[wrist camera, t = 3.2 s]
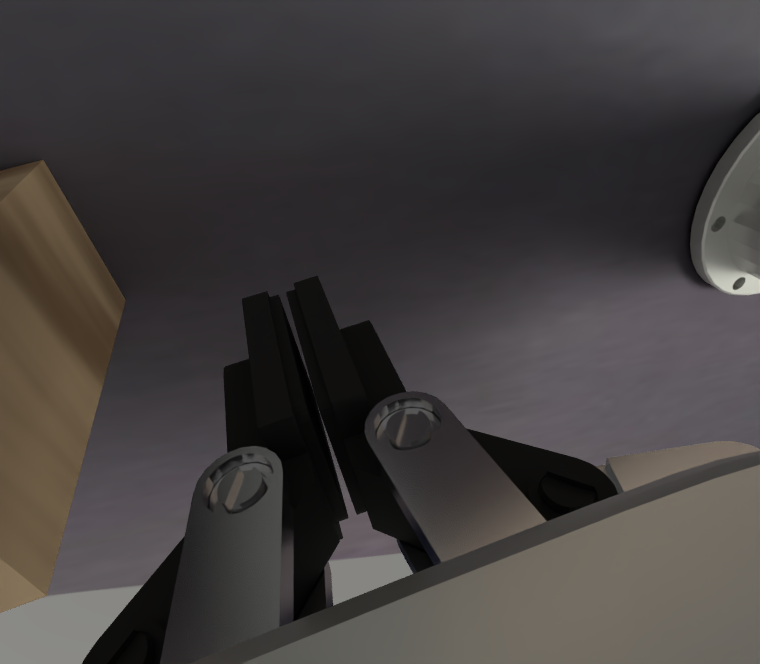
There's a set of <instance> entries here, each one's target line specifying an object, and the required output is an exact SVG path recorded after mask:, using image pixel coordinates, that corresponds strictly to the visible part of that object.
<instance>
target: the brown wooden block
mask: <svg viewBox="0 0 760 664" xmlns="http://www.w3.org/2000/svg"><path fill="white" fill-rule="evenodd" d="M125 301H126V300H125V298H124V296H123V295H122V293H121V291H120V290H119V288H118V286H117V284H116V283H115V281H114V279H113V278H112V276H111V274H110V273H109V271H108V269H107V267H106V266H105V264H104V262H103V261H102V259H101V257H100V255H99V254H98V252H97V250H96V249H95V247H94V245H93V244H92V242H91V240H90V238H89V237H88V235H87V233H86V232H85V230H84V228H83V227H82V225H81V223H80V221H79V220H78V218H77V216H76V215H75V213H74V211H73V209H72V208H71V206H70V204H69V203H68V201H67V199H66V198H65V196H64V194H63V192H62V191H61V189H60V187H59V186H58V184H57V182H56V181H55V179H54V177H53V175H52V174H51V172H50V170H49V169H48V167H47V165H46V163H45V162H44V160H40V161H36V162H32V163H28V164H24V165H20V166H17V167H13V168H9V169H5V170H1V171H0V613H1V612H4V611H7V610H9V609H12V608H15V607H17V606H20V605H23V604H26V603H29V602H31V601H34V600H37V599H39V598H42V597H45V596H47V593H48V589H49V586H50V582H51V578H52V574H53V571H54V567H55V563H56V559H57V556H58V552H59V548H60V545H61V541H62V537H63V533H64V530H65V526H66V522H67V518H68V515H69V511H70V507H71V503H72V500H73V496H74V492H75V488H76V485H77V481H78V477H79V473H80V470H81V466H82V462H83V459H84V455H85V451H86V447H87V444H88V440H89V436H90V432H91V429H92V425H93V421H94V417H95V414H96V410H97V406H98V402H99V399H100V395H101V391H102V387H103V384H104V380H105V376H106V372H107V369H108V365H109V361H110V358H111V354H112V350H113V346H114V343H115V339H116V335H117V331H118V328H119V324H120V320H121V316H122V313H123V309H124V305H125Z"/></svg>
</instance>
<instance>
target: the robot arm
mask: <svg viewBox="0 0 760 664" xmlns="http://www.w3.org/2000/svg"><path fill="white" fill-rule="evenodd" d="M690 249H691V257H692V262H693V264H694V267H695V269H696V271H697V273H698V274H699V275H700V277H701V278H702V279H703V280H704V281H705V282H707V283H708V284H710V285H712V286H713V287H715V288H717V289H718V290H720V291H722V292H725V293H727V294H730V295H745V296H746V295H752V294H757V293H760V113H759V114H757V115H756V116H755V117H754V118H753V119H752V120H751V121H750V122H749V124H748V125H747V126H746V127H745V128H744V129H743V130H742V131H741V133H740V134H739V135H738V136H737V137H736V138H735V139H734V141H733V142H732V143H731V145H730V146H729V148H728V149H727V150H726V152H725V153H724V155H723V156H722V157H721V159H720V160H719V162H718V163H717V165H716V167H715V169H714V171H713V172H712V174H711V176H710V178H709V180H708V181H707V183H706V185H705V188H704V190H703V192H702V195H701V197H700V200H699V202H698V204H697V207H696V211H695V215H694V219H693V223H692V228H691V239H690ZM294 286H295V290H292V291H289V292H286V294H287V297H288V301H289V305H290V308H291V312H292V315H293V319H294V322H295V326H296V330H297V333H298V337H299V340H300V344H301V348H302V351H303V355H304V358H305V362H306V366H307V369H308V373H309V376H310V380H311V383H310V380H309V378H308V375H307V372H306V369H305V366H304V364H303V361H302V358H301V355H300V352H299V350H298V347H297V344H296V341H295V339H294V336H293V333H292V330H291V327H290V325H289V322H288V319H287V316H286V313H285V311H284V308H283V305H282V302H281V300H280V297H279V295H276V296H272V297H269V295H268V292H267V291H266V292H263V293H260V294H256V295H253V296H250V297H247V298H243V299H242V304H243V312H244V320H245V328H246V336H247V344H248V352H249V359H247V360H244V361H241V362H238V363H235V364H231V365H228V366H225V367H224V392H225V412H226V432H227V451H228V453H226V454H225V455H223V456H221V457H220V458H218V459H217V460H215V461H214V462H213V463H212V464H211V465H210V466H209V467H208V468H207V469H206V470H205V471H204V473H203V474H202V476H201V477H200V478H199V480H198V482H197V484H196V487H195V490H194V493H193V497H192V503H191V508H190V513H189V518H188V523H187V528H186V533H185V536H184V538H183V539H182V540H181V541H180V542H179V544H178V545H177V546H176V547H175V548H174V550H173V551H172V552H171V553H170V554H169V556H168V557H167V558H166V559H165V560H164V562H163V563H162V564H161V565H160V566H159V568H158V569H157V570H156V571H155V572H154V574H153V575H152V576H151V577H150V578H149V580H148V581H147V582H146V583H145V584H144V585H143V587H142V588H141V589H140V590H139V592H138V593H137V594H136V595H135V596H134V598H133V599H132V600H131V601H130V602H129V603H128V605H127V606H126V607H125V608H124V609H123V611H122V612H121V613H120V614H119V615H118V617H117V618H116V619H115V620H114V622H113V623H112V624H111V625H110V626H109V627H108V629H107V630H106V631H105V632H104V633H103V635H102V636H101V637H100V638H99V639H98V641H97V642H96V643H95V645H94V646H93V648H92V649H91V650H90V652H89V653H88V655H87V656H86V658H85V659H84V661H83V663H82V664H760V449H758V448H756V447H754V446H751V445H747V444H743V443H739V442H735V441H717V442H710V443H703V444H697V445H690V446H684V447H677V448H670V449H664V450H657V451H650V452H644V453H637V454H630V455H624V456H617V457H610V458H607V459H606V465H599V466H594V465H592V464H590V463H588V462H585V461H583V460H580V459H578V458H574V457H570V456H567V455H563V454H559V453H556V452H552V451H548V450H544V449H541V448H537V447H533V446H529V445H526V444H522V443H518V442H514V441H511V440H507V439H503V438H500V437H496V436H492V435H488V434H485V433H481V432H477V431H473V430H470V429H466V428H465V427H464V426H463V425H462V423H461V422H460V421H459V420H458V419H457V418H456V417H455V415H454V414H453V413H452V412H451V411H450V410H449V409H448V407H447V406H446V405H445V404H444V403H443V402H441V401H440V400H439V399H438V398H436V397H434V396H432V395H429V394H427V393H422V392H413V391H412V392H406V390H405V388H404V386H403V384H402V382H401V380H400V378H399V376H398V374H397V372H396V371H395V369H394V367H393V365H392V363H391V361H390V359H389V357H388V355H387V353H386V351H385V349H384V347H383V345H382V343H381V341H380V339H379V337H378V336H377V334H376V332H375V330H374V328H373V326H372V324H371V322H370V321H369V320H368V321H365V322H362V323H359V324H356V325H352V326H349V327H346V328H343V329H340V330H339V327H338V325H337V322H336V320H335V318H334V315H333V313H332V310H331V308H330V305H329V303H328V300H327V298H326V296H325V293H324V291H323V288H322V286H321V283H320V281H319V278H318V276H315V277H312V278H309V279H305V280H302V281H299V282H296V283H294ZM311 384H312V386H311ZM312 387H313V389H312ZM313 391H314V392H313ZM314 394H315V395H314ZM316 401H317V402H316ZM317 404H318V406H317ZM318 407H319V409H318ZM319 411H320V413H319ZM320 414H321V416H320ZM321 417H322V419H323V422H324V425H325V428H326V431H327V433H328V436H329V439H330V442H331V444H332V447H333V450H334V453H335V456H336V458H337V461H338V464H339V467H340V469H341V472H342V475H343V478H344V480H345V483H346V486H347V489H348V492H349V494H350V497H351V500H352V503H353V505H354V508H355V511H356V514H357V515H358V514H360V513H363V512H366V511H367V512H368V515H369V518H370V521H371V524H372V527H373V529H375V530H377V531H380V532H382V533H385V534H387V535H389V536H392V537H394V538H396V541H397V544H398V547H399V549H400V551H401V552H402V554H403V556H404V558H405V560H406V562H407V563H408V565H409V567H410V569H411V571H412V573H413V574H412V575H410V576H407V577H405V578H402V579H400V580H397V581H395V582H392V583H389V584H387V585H384V586H382V587H379V588H377V589H374V590H372V591H369V592H367V593H364V594H362V595H359V596H357V597H354V598H352V599H349V600H347V601H344V602H342V603H339V604H337V605H334V606H333V594H332V579H331V578H332V577H331V570H330V566H329V562H328V560H329V559H330V557H331V555H332V554H333V552H334V550H335V549H336V547H337V545H338V544H339V542H340V541H339V540H340V539H343V536H342V532H341V528H340V524H339V521H342V520H344V519H347V518H348V514H347V510H346V506H345V503H344V499H343V495H342V492H341V488H340V485H339V481H338V478H337V474H336V470H335V467H334V463H333V460H332V456H331V452H330V449H329V445H328V442H327V438H326V434H325V431H324V427H323V424H322V420H321Z"/></svg>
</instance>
